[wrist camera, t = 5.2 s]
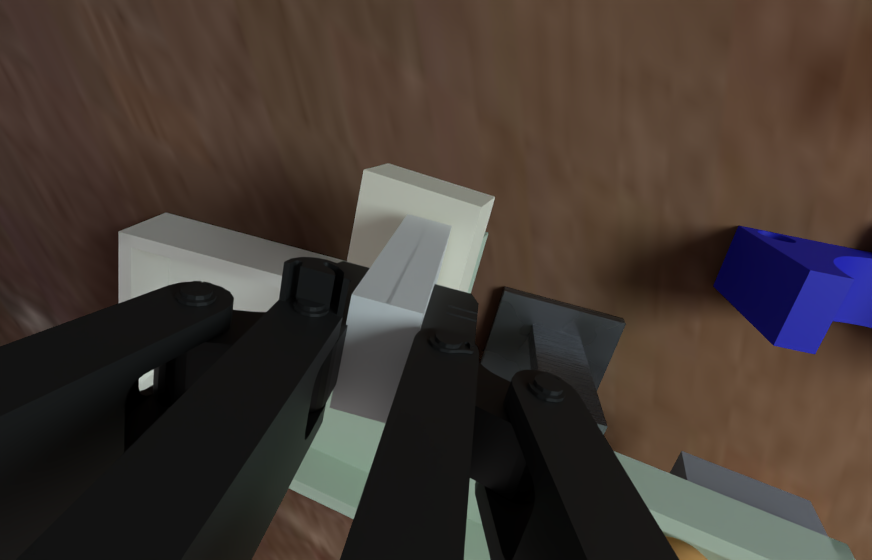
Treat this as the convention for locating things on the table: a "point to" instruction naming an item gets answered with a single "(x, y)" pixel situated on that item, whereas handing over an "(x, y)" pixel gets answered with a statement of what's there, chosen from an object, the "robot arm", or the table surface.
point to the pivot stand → (553, 343)
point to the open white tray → (202, 262)
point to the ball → (685, 550)
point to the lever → (662, 492)
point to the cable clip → (795, 286)
